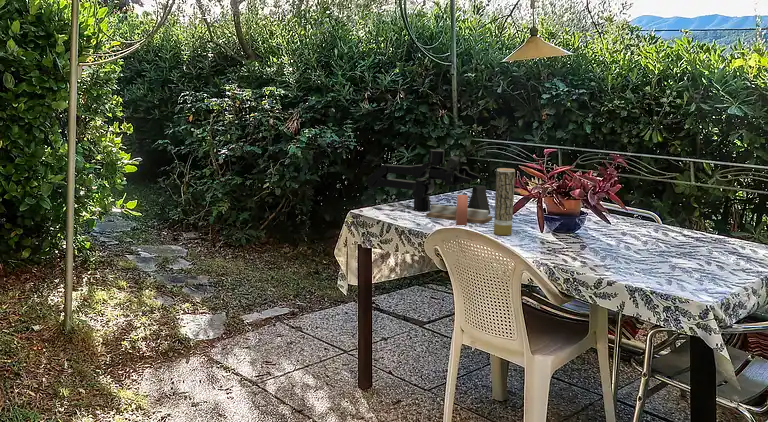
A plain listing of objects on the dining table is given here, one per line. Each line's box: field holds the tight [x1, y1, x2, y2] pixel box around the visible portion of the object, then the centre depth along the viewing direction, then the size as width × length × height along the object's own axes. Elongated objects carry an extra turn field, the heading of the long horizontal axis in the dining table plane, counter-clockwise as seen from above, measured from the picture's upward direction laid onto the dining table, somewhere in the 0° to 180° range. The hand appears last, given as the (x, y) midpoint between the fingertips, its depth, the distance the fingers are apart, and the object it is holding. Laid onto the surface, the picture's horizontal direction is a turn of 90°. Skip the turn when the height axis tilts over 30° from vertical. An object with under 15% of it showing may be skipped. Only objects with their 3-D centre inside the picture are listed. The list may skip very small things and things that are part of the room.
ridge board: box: [425, 203, 493, 225], centre depth 278 cm, size 26×10×4 cm, turn 62°
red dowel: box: [455, 194, 469, 227], centre depth 265 cm, size 4×4×12 cm
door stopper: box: [468, 185, 491, 215], centre depth 289 cm, size 9×6×12 cm, turn 39°
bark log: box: [493, 167, 516, 237], centre depth 249 cm, size 7×7×25 cm
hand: (475, 178), depth 279 cm, fingers open, 9 cm apart
